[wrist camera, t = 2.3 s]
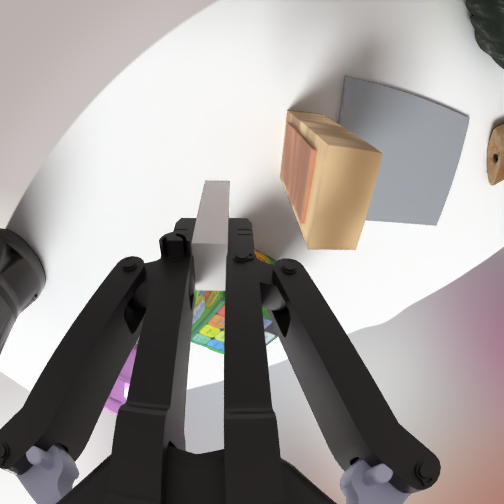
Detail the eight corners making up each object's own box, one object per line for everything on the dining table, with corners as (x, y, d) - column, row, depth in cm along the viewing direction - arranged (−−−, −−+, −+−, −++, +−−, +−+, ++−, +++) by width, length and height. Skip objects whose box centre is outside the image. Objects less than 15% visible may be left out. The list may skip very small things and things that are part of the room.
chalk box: (223, 230, 36) (221, 323, 24) (278, 260, 40) (297, 350, 28) (189, 276, 40) (178, 365, 28) (241, 299, 44) (246, 384, 32)
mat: (321, 215, 35) (322, 217, 35) (345, 76, 25) (346, 76, 24) (434, 223, 37) (436, 225, 37) (467, 117, 26) (469, 118, 26)
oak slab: (277, 176, 32) (304, 249, 21) (284, 110, 27) (323, 144, 16) (312, 179, 32) (355, 249, 21) (322, 114, 27) (382, 153, 16)
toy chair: (94, 347, 51) (78, 407, 39) (115, 336, 49) (99, 403, 37) (123, 365, 56) (112, 423, 44) (146, 355, 53) (136, 420, 41)
